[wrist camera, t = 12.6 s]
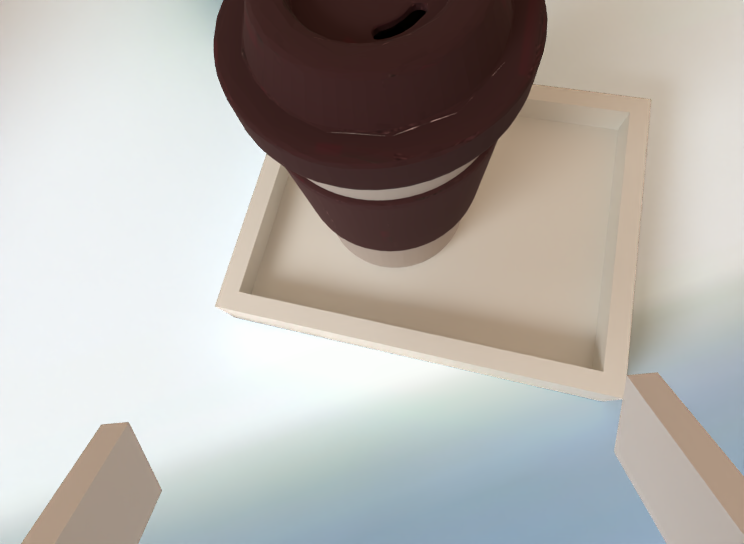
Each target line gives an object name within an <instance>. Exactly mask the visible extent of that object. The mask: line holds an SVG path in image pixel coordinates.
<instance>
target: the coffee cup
mask: <svg viewBox="0 0 744 544" xmlns="http://www.w3.org/2000/svg"><path fill="white" fill-rule="evenodd" d="M546 35H547V11H546V4H545V0H223V3H222V5H221V8H220V10H219V13H218V16H217V21H216V28H215V35H214V60H215V67H216V72H217V76H218V79H219V81H220V84H221V87H222V89H223V91H224V94H225V96H226V98H227V100H228V102H229V103H230V105H231V107H232V108H233V110H234V112H235V113H236V115H237V117H238V118H239V120H240V122H241V123H242V125H243V126H244V128H245V130H246V131H247V133H248V134H249V135H250V136H251V138H252V139H253V140H254V141H255V142H256V144H257V145H258V146H259V147H260V148H261V149H262V150H263V151H264V152H266V153H267V154H268V155H269V156H270V157H271V158H273V159H274V160H275V161H277V162H278V163H280V164H281V165H282V166H284V167H285V168H286V170H287V171H288V172H289V174H290V175H291V177H292V178H293V180H294V181H295V182H296V184H297V185H298V187H299V188H300V190H301V191H302V192H303V194H304V195H305V197H306V198H307V200H308V201H309V202H310V204H311V205H312V207H313V208H314V210H315V211H316V212H317V214H318V215H319V217H320V218H321V219H322V221H323V222H324V223H325V224H326V225H327V226H328V227H329V228H330V229H331V230H332V231H333V232H335V233H336V234H337V236H338V237H339V239H340V240H341V242H342V243H343V244H344V245H345V247H346V248H347V249H348V250H349V251H351V252H352V253H353V254H354V255H356V256H357V257H359V258H360V259H362V260H364V261H366V262H369V263H371V264H374V265H378V266H381V267H390V268H401V267H408V266H413V265H416V264H419V263H422V262H424V261H426V260H428V259H430V258H431V257H433V256H435V255H436V254H437V253H439V252H440V251H441V250H442V249H443V248H444V247H445V246H446V245H447V244H448V243H449V242H450V240H451V239H452V238H453V236H454V234H455V232H456V231H457V229H458V226H459V223H460V221H461V219H462V217H463V216H464V215H465V214H466V212H467V210H468V209H469V207H470V205H471V204H472V202H473V200H474V197H475V195H476V193H477V190H478V188H479V185H480V183H481V180H482V178H483V175H484V173H485V170H486V168H487V166H488V163H489V161H490V158H491V156H492V153H493V151H494V148H495V146H496V144H497V141H498V139H499V138H500V137H501V136H502V135H503V134H504V133H505V132H506V130H507V129H508V128H509V127H510V125H511V124H512V123H513V121H514V120H515V118H516V117H517V115H518V114H519V112H520V111H521V109H522V107H523V106H524V104H525V102H526V100H527V98H528V96H529V93H530V90H531V87H532V85H533V82H534V79H535V76H536V73H537V70H538V67H539V64H540V61H541V58H542V55H543V51H544V46H545V42H546Z"/></svg>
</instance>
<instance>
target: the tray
mask: <svg viewBox="0 0 744 544" xmlns="http://www.w3.org/2000/svg"><path fill="white" fill-rule="evenodd" d="M650 107H651V99H644V98H636V97H628V96H621V95H613V94H605V93H597V92H590V91H582V90H574V89H566V88H559V87H551V86H543V85H535V84H533V85H532V87H531V90H530V93H529V96H528V98H527V100H526V102H525V104H524V106H523V107H522V109H521V111H520V112H519V114H518V115H517V117H516V118H515V120H514V121H513V123H512V124H511V125H510V127H509V128H508V129H507V130H506V132H505V133H504V134H503V135H502V136H501V137H500V138H499V139H498V141H497V144H496V146H495V148H494V151H493V153H492V156H491V158H490V161H489V163H488V166H487V168H486V170H485V173H484V175H483V178H482V180H481V183H480V185H479V188H478V190H477V193H476V195H475V197H474V200H473V202H472V204H471V205H470V207H469V209H468V210H467V212H466V214H465V215H464V216H463V217H462V219H461V221H460V223H459V226H458V229H457V231H456V232H455V234H454V236H453V238H452V239H451V240H450V242H449V243H448V244H447V245H446V246H445V247H444V248H443V249H442V250H441V251H440V252H439V253H437V254H436V255H435V256H433V257H431V258H430V259H428V260H426V261H424V262H422V263H419V264H416V265H413V266H408V267H401V268H390V267H381V266H378V265H374V264H371V263H369V262H366V261H364V260H362V259H360V258H359V257H357V256H356V255H354V254H353V253H352V252H351V251H349V250H348V249H347V248H346V247H345V245H344V244H343V243H342V242H341V240H340V239H339V237H338V236H337V234H336V233H335V232H333V231H332V230H331V229H330V228H329V227H328V226H327V225H326V224H325V223H324V222H323V221H322V219H321V218H320V217H319V215H318V214H317V212H316V211H315V210H314V208H313V207H312V205H311V204H310V202H309V201H308V200H307V198H306V197H305V195H304V194H303V192H302V191H301V190H300V188H299V187H298V185H297V184H296V182H295V181H294V180H293V178H292V177H291V175H290V174H289V172H288V171H287V170H286V168H285V167H284V166H282V165H281V164H280V163H278V162H277V161H275V160H274V159H273V158H271V157H270V156H269V155H268V154H266V157H265V160H264V163H263V166H262V169H261V172H260V175H259V178H258V181H257V184H256V187H255V189H254V192H253V195H252V198H251V201H250V204H249V207H248V210H247V213H246V216H245V219H244V222H243V225H242V228H241V231H240V234H239V237H238V240H237V243H236V246H235V248H234V251H233V254H232V257H231V260H230V263H229V266H228V269H227V272H226V275H225V278H224V281H223V284H222V287H221V290H220V293H219V296H218V299H217V302H216V305H215V307H217V308H219V309H221V310H223V311H224V312H226V313H228V314H230V315H232V316H233V317H235V318H240V319H244V320H248V321H253V322H257V323H262V324H266V325H270V326H275V327H279V328H283V329H288V330H292V331H296V332H301V333H305V334H310V335H314V336H318V337H323V338H327V339H331V340H336V341H340V342H344V343H349V344H353V345H358V346H362V347H366V348H371V349H375V350H379V351H384V352H388V353H393V354H397V355H401V356H406V357H410V358H414V359H419V360H423V361H427V362H432V363H436V364H441V365H445V366H449V367H454V368H458V369H462V370H467V371H471V372H475V373H480V374H484V375H489V376H493V377H497V378H502V379H506V380H510V381H515V382H519V383H523V384H528V385H532V386H537V387H541V388H545V389H550V390H554V391H558V392H563V393H567V394H571V395H576V396H580V397H585V398H589V399H593V400H598V401H611V400H621V399H623V395H624V389H625V383H626V376H627V368H628V357H629V345H630V334H631V323H632V311H633V300H634V289H635V277H636V266H637V255H638V243H639V232H640V221H641V209H642V198H643V186H644V175H645V164H646V152H647V141H648V130H649V118H650Z"/></svg>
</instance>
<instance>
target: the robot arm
mask: <svg viewBox="0 0 744 544" xmlns="http://www.w3.org/2000/svg"><path fill="white" fill-rule="evenodd" d="M614 452H615V454H616V456H617V458H618V459H619V461H620V463H621V465H622V466H623V468H624V470H625V472H626V473H627V475H628V477H629V479H630V480H631V482H632V484H633V486H634V487H635V489H636V491H637V493H638V494H639V496H640V498H641V500H642V501H643V503H644V505H645V507H646V508H647V510H648V512H649V514H650V515H651V517H652V519H653V521H654V522H655V524H656V526H657V528H658V529H659V531H660V533H661V535H662V536H663V538H664V540H665V542H666V543H667V544H744V476H743V475H742V474H741V473H740V471H739V470H738V469H737V468H736V467H735V465H734V464H733V463H732V462H731V461H730V459H729V458H728V457H727V456H726V455H725V453H724V452H723V451H722V450H721V448H720V447H719V446H718V445H717V444H716V442H715V441H714V440H713V439H712V438H711V436H710V435H709V434H708V433H707V432H706V430H705V429H704V428H703V427H702V426H701V424H700V423H699V422H698V421H697V420H696V418H695V417H694V416H693V415H692V413H691V412H690V411H689V410H688V409H687V407H686V406H685V405H684V404H683V403H682V401H681V400H680V399H679V398H678V397H677V395H676V394H675V393H674V392H673V391H672V389H671V388H670V387H669V386H668V384H667V383H666V382H665V381H664V380H663V378H662V377H661V376H660V375H659V374H658V372H657V373H646V374H636V375H627V376H626V383H625V389H624V395H623V401H622V407H621V413H620V419H619V425H618V431H617V437H616V443H615V449H614ZM161 492H162V489H161V487H160V485H159V483H158V481H157V479H156V477H155V475H154V473H153V471H152V469H151V467H150V465H149V463H148V461H147V458H146V456H145V454H144V452H143V450H142V448H141V446H140V444H139V442H138V440H137V438H136V436H135V434H134V432H133V430H132V428H131V426H130V424H129V422H125V423H114V424H103V425H101V426H100V427H99V429H98V430H97V432H96V433H95V435H94V436H93V438H92V439H91V441H90V442H89V444H88V445H87V447H86V448H85V450H84V451H83V453H82V454H81V456H80V457H79V459H78V460H77V462H76V463H75V465H74V466H73V468H72V469H71V471H70V472H69V473H68V475H67V476H66V478H65V479H64V481H63V482H62V484H61V485H60V487H59V488H58V490H57V491H56V493H55V494H54V496H53V497H52V499H51V500H50V502H49V503H48V505H47V506H46V508H45V509H44V511H43V512H42V514H41V515H40V516H39V518H38V519H37V521H36V522H35V524H34V525H33V527H32V528H31V530H30V531H29V533H28V534H27V536H26V537H25V539H24V540H23V542H22V543H21V544H138V543H139V541H140V538H141V536H142V534H143V532H144V529H145V527H146V525H147V523H148V521H149V518H150V516H151V514H152V512H153V509H154V507H155V505H156V503H157V500H158V498H159V496H160V494H161Z"/></svg>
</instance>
